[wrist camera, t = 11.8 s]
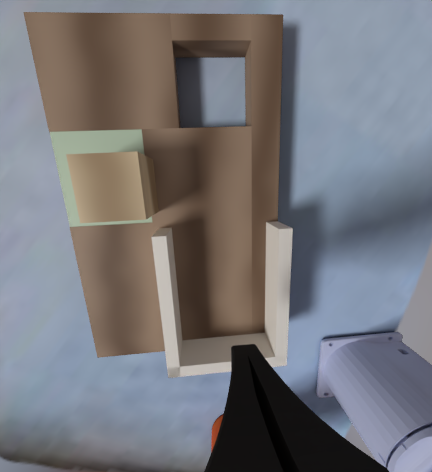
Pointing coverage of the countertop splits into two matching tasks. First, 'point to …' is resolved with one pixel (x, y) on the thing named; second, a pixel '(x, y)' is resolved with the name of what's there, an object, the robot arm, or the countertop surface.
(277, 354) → the cubby
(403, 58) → the countertop surface
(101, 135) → the pad
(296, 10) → the countertop surface
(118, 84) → the board
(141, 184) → the block
